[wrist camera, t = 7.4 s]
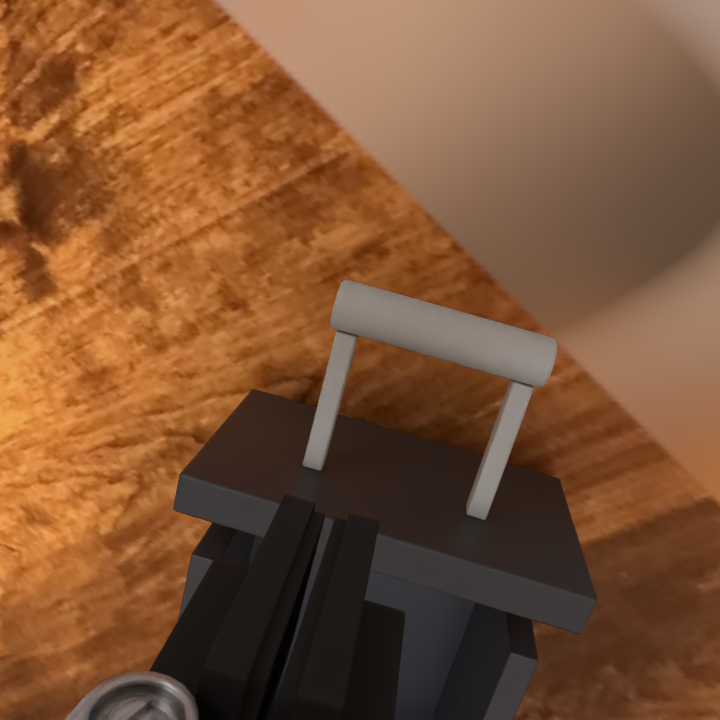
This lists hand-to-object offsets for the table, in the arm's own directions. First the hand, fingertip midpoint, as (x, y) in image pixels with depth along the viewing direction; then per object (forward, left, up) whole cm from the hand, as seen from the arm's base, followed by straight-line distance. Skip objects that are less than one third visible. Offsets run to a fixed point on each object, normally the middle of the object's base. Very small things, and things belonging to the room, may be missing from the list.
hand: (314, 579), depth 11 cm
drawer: (+7, +1, -13) cm, 14 cm away
